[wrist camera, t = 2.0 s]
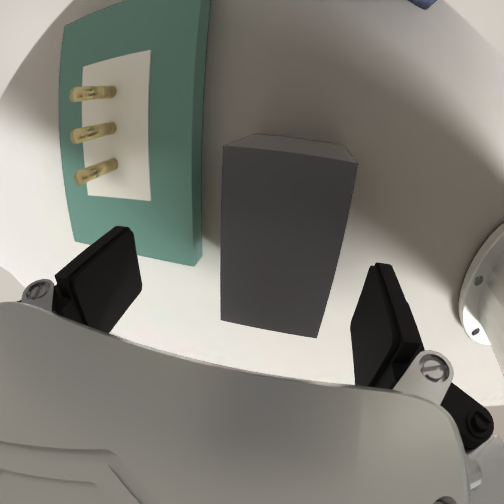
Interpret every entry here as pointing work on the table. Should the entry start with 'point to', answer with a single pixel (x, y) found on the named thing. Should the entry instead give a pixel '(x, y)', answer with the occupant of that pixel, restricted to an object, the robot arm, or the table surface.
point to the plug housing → (282, 230)
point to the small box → (423, 3)
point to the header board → (138, 124)
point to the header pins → (93, 132)
